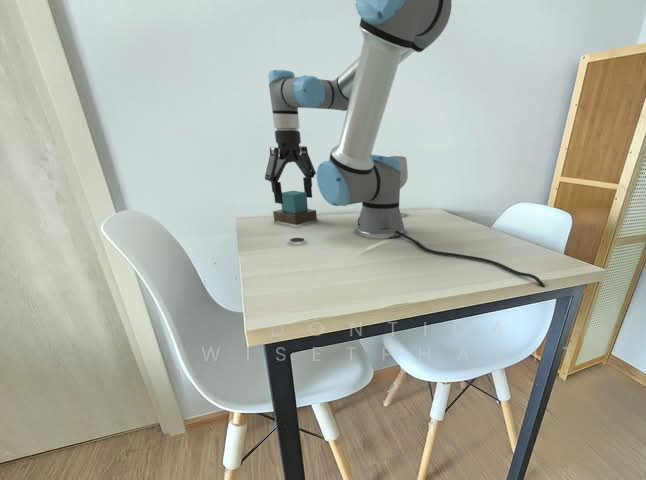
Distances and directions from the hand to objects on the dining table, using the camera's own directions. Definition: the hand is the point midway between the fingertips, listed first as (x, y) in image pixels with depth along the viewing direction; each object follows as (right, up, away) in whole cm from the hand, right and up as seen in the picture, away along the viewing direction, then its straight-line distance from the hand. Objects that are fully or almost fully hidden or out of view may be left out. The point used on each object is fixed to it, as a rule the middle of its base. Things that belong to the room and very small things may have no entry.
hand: (294, 200), depth 119 cm
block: (0, -3, +2) cm, 4 cm away
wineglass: (+34, -1, +19) cm, 39 cm away
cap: (+6, -17, -17) cm, 25 cm away
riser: (-1, -7, +4) cm, 8 cm away
